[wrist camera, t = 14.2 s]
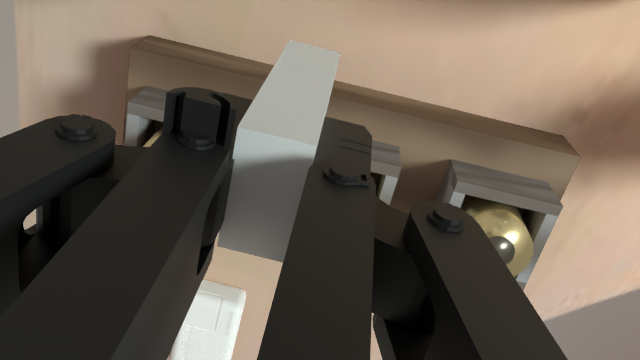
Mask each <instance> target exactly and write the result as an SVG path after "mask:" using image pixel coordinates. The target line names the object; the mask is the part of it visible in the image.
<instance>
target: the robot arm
mask: <svg viewBox="0 0 640 360" xmlns="http://www.w3.org/2000/svg"><path fill="white" fill-rule="evenodd" d="M340 54H341V53H339V52H335V51H331V50H327V49H323V48H319V47H315V46H311V45H307V44H303V43H299V42H295V41H291V40H289V42H288V44H287V45H286V47H285V49H284V50H283V52H282V54H281V55H280V57H279V59H278V60H277V62H276V64H275V65H274V67H273V68H272V70H271V72H270V73H269V75H268V77H267V78H266V80H265V82H264V83H263V85H262V87H261V88H260V90H259V92H258V93H257V95H256V97H255V98H254V100H251V99H247V98H243V97H239V96H235V95H231V94H227V93H219V92H216V91H213V90H210V89H204V88H198V87H182V88H175V89H172V90H170V91H168V92H166V101H165V111H164V120H163V130H162V134H161V135H160V136H159V137H158V138H157V139H156V141H155V142H154V143H153V144H152V145H151V146H150V147H134V146H123V145H115V135H116V131H115V130H114V129H113V128H112V126H111V125H109V124H107V123H105V122H103V121H101V120H98V119H94V118H91V117H90V116H85V115H82V116H80V115H75V114H72V115H69V116H58V117H54V118H50V119H46V120H44V121H41V122H39V123H36V124H34V125H31V126H29V127H26V128H24V129H21V130H19V131H16V132H14V133H11V134H9V135H7V136H4V137H2V138H0V360H167V357H168V355H169V353H170V351H171V348H172V346H173V344H174V342H175V340H176V337H177V335H178V333H179V331H180V329H181V326H182V324H183V322H184V320H185V318H186V315H187V313H188V311H189V309H190V306H191V304H192V302H193V300H194V298H195V295H196V293H197V291H198V289H199V287H200V284H201V282H202V280H203V278H204V276H205V273H206V271H207V269H208V267H209V264H210V262H211V260H212V254H213V248H214V242H215V238H216V236H217V234H218V232H219V230H220V233H219V239H218V245H217V246H219V247H223V248H227V249H231V250H235V251H239V252H243V253H247V254H251V255H255V256H259V257H263V258H268V259H272V260H276V261H280V262H283V265H282V269H281V273H280V276H279V280H278V284H277V287H276V291H275V295H274V298H273V302H272V306H271V309H270V313H269V317H268V321H267V324H266V328H265V332H264V335H263V339H262V343H261V346H260V350H259V354H258V357H257V360H370V344H371V316H372V313H374V316H373V328H374V332H375V335H376V338H377V342H378V345H379V349H380V352H381V355H382V359H383V360H567V358H566V356H565V355H564V353H563V352H562V350H561V349H560V347H559V346H558V344H557V343H556V341H555V340H554V338H553V336H552V335H551V333H550V332H549V330H548V329H547V327H546V326H545V324H544V323H543V321H542V320H541V318H540V317H539V315H538V313H537V312H536V310H535V309H534V307H533V306H532V304H531V303H530V301H529V300H528V298H527V297H526V295H525V294H524V292H523V290H522V289H521V287H520V286H519V284H518V283H517V281H516V280H515V278H514V277H513V275H512V274H511V272H510V270H509V269H508V267H507V266H506V264H505V263H504V261H503V260H502V258H501V257H500V255H499V254H498V252H497V251H496V249H495V247H494V246H493V244H492V243H491V241H490V240H489V238H488V237H487V235H486V234H485V232H484V231H483V229H482V228H481V226H480V224H479V223H478V222H477V221H476V220H475V219H474V218H473V217H472V216H470V215H469V214H467V213H466V212H464V211H463V210H462V209H461V208H459V207H457V206H453V205H452V204H449V203H441V202H437V201H422V202H419V203H415V204H414V206H413V207H412V208H411V210H410V213H409V214H407V213H404V212H402V211H400V210H398V209H396V208H394V207H392V206H390V205H388V204H386V203H385V202H383V201H382V200H380V199H379V198H378V197H377V196H376V184H375V181H374V179H373V178H372V177H371V176H370V173H371V153H372V148H371V147H372V135H371V134H370V133H369V131H368V130H367V129H366V127H365V126H362V125H358V124H354V123H350V122H346V121H342V120H338V119H334V118H330V117H326V116H325V115H326V111H327V107H328V103H329V99H330V95H331V91H332V87H333V83H334V79H335V75H336V71H337V67H338V63H339V58H340ZM35 209H36V224H35V225H33V226H32V227H30V228H28V229H26V230H24V228H23V221H24V220H25V218H26V217H27V216H28V215H29V214H30V213H31V212H32V211H33V210H35Z"/></svg>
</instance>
